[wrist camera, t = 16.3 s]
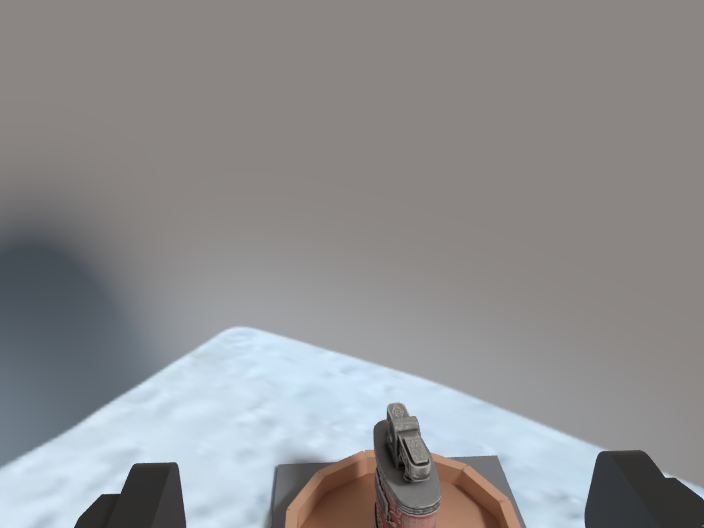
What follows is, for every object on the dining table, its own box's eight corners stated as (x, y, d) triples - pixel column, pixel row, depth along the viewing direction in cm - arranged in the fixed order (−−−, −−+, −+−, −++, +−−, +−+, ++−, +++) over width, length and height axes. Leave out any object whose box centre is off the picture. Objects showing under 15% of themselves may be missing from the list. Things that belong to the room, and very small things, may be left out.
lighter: (365, 506, 42) (364, 390, 39) (409, 499, 43) (413, 384, 39) (393, 606, 35) (396, 474, 31) (447, 595, 36) (455, 465, 32)
